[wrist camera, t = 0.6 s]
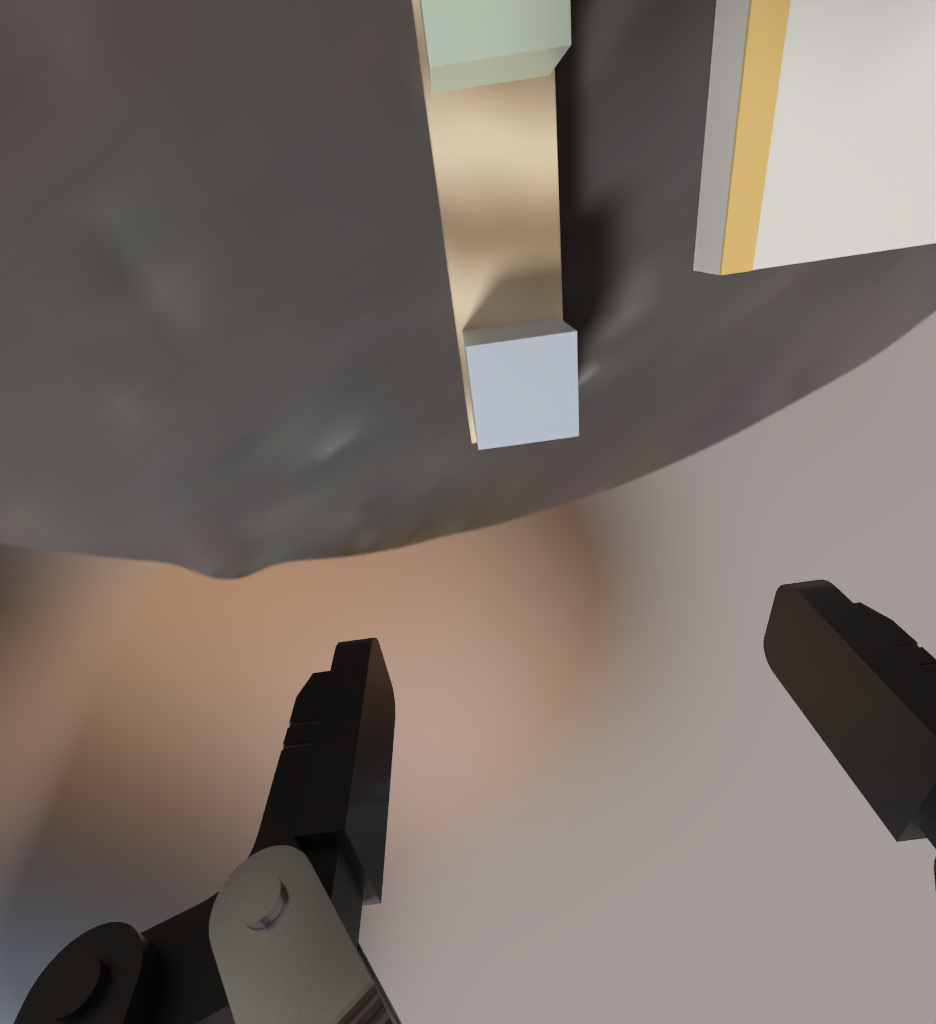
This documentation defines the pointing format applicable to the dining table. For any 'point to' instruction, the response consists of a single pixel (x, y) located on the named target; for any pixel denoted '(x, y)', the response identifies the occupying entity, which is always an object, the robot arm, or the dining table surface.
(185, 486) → the dining table surface
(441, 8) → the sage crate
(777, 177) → the dock
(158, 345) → the dining table surface
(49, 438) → the dining table surface
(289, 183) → the dining table surface
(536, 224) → the pallet
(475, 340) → the block
